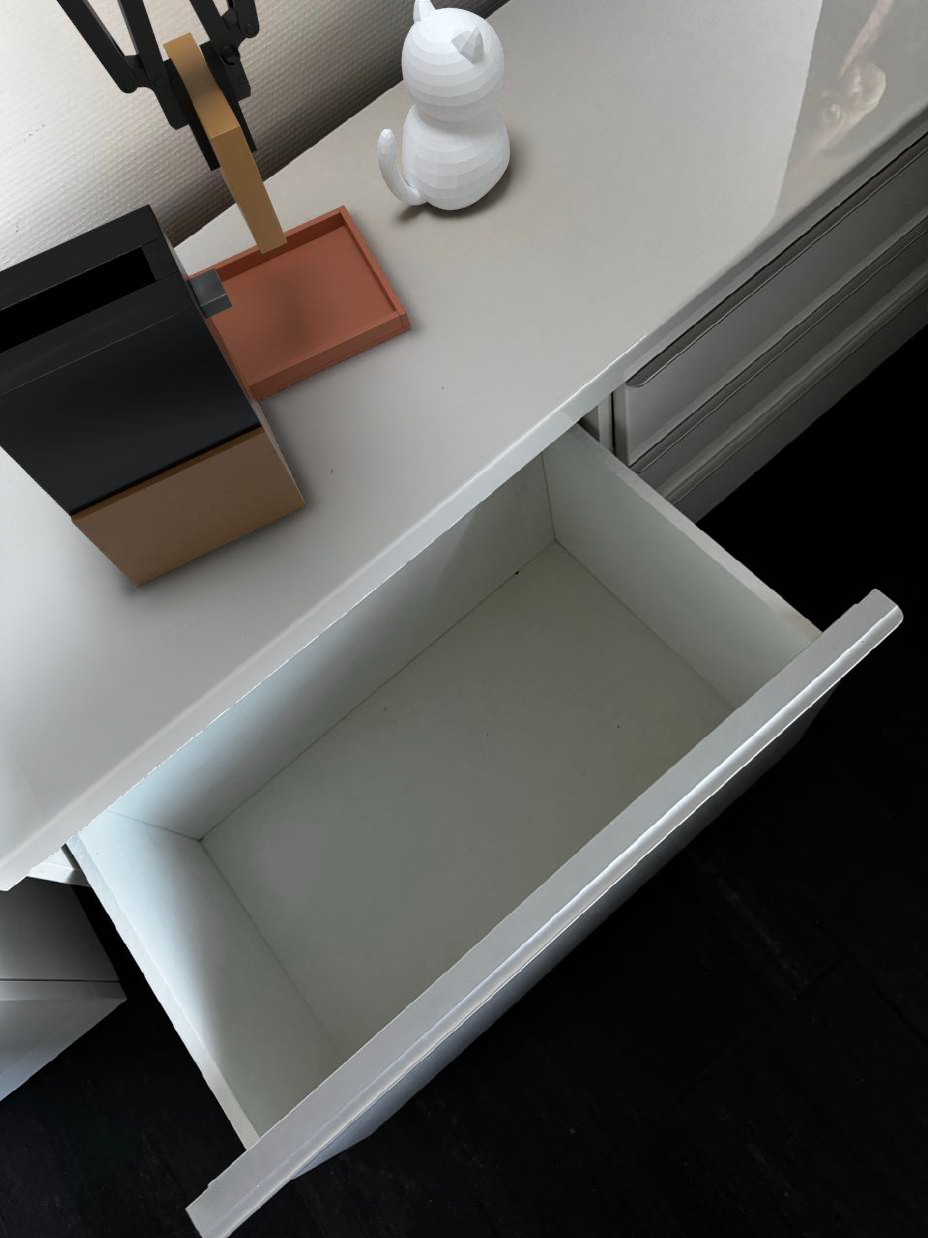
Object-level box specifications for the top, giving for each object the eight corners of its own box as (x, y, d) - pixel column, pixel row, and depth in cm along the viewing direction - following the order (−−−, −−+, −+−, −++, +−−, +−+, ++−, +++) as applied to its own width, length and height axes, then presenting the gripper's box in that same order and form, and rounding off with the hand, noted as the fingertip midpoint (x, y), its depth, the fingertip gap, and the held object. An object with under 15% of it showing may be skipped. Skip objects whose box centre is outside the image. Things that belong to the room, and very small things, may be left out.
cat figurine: (542, 168, 88) (528, 3, 74) (433, 255, 86) (398, 102, 72) (472, 119, 91) (447, -47, 78) (366, 201, 89) (320, 45, 75)
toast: (216, 164, 76) (162, 43, 67) (241, 153, 77) (190, 31, 67) (261, 254, 72) (210, 138, 63) (287, 242, 72) (240, 124, 63)
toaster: (136, 587, 77) (-33, 418, 57) (99, 485, 81) (-70, 295, 61) (328, 495, 78) (228, 298, 58) (282, 400, 82) (173, 184, 62)
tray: (239, 410, 82) (230, 394, 80) (188, 297, 88) (178, 280, 86) (411, 329, 83) (406, 312, 81) (350, 222, 88) (344, 204, 86)
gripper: (-77, -152, 47) (142, 230, 68) (225, -282, 47) (348, 136, 69) (-109, -230, 50) (111, 159, 71) (175, -351, 51) (308, 70, 72)
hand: (227, 147), depth 70 cm, fingers closed on toast, 2 cm apart
